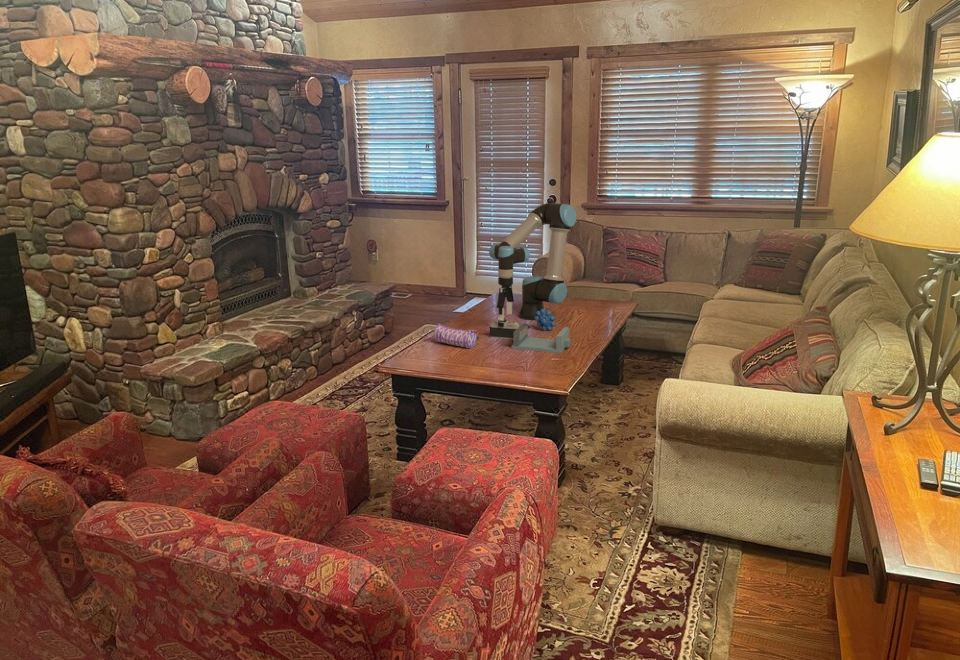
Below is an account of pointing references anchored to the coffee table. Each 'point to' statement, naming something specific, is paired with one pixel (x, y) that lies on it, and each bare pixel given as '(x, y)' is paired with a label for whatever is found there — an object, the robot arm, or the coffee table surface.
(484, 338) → the coffee table surface
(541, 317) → the blue knobbly thick disc
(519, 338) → the sliding jaw
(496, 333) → the camera
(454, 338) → the pencil case
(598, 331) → the coffee table surface
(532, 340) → the vise
